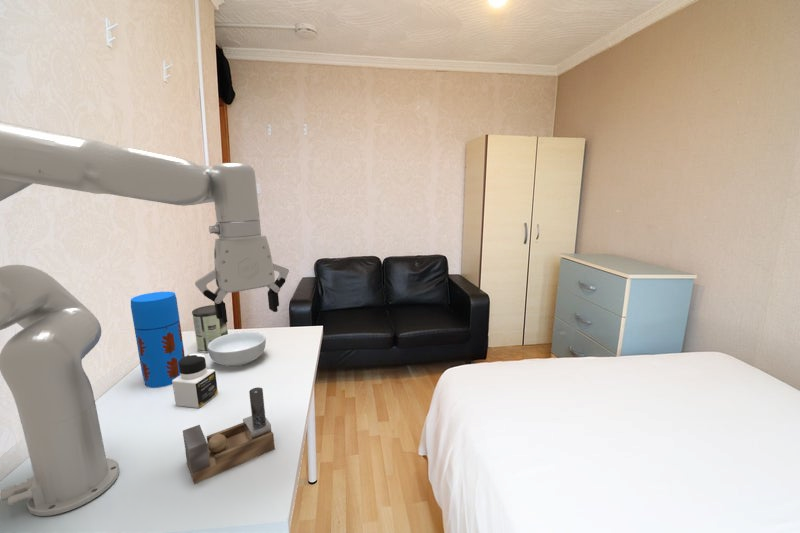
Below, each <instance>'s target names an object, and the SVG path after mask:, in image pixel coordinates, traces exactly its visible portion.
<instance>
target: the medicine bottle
mask: <svg viewBox="0 0 800 533" xmlns="http://www.w3.org/2000/svg"><path fill="white" fill-rule="evenodd" d="M178 364H179V371H180V376H178V377H177V378H175V379H173V380H172V384H171V385H172V389H173V396H174V402H175V406H178V407H187V408H194V409H200V408H202V407H203V406H204V405H205V404H207V403H208V402H209V401H210V400H212V399H213V398H214V397H216V396H217V395H218V394H219V391H218V383H217V375H216V370H215V369H210V368H207V360H206V356H205V355H204V354H203V353H202V354H201V353H191V354H188V355H186V356H185V357H183V358H182V359H180V360H179V362H178Z"/></svg>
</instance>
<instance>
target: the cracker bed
mask: <svg viewBox="0 0 800 533" xmlns="http://www.w3.org/2000/svg"><path fill="white" fill-rule="evenodd" d="M216 434H222V435H224V436H225V437H226V439H227V444H226V447H225V448H224V449H223V450H222V451H221V452H218V453H213V452H211V451H210V450H209V449H208V442H209V440H210V438H211V437H212V436H214V435H216ZM182 435H183V436H182V437H183V441H184V442H183V443H184V450H185V457H186V462H187V466H188V469H189V472H190V475H191V476H190V477H191V478H192V483H193V485H195V484H198V483H200V482H203V481H205V480H208V479H210V478H212V477H215V476H216V475H219V474H221V473H224V472H225V471H227V470H230V469H232V468H235V467H237V466H239V465H241V464H244V463H246V462H249V461H250V460H253V459H255V458H258V457H259V456H263V455H264V454H267V453H268V452H271V451H273V450H275V449H276V448H275V447H276V446H275V437H274V432H273V431H272V432H270V433H267V434H265V435H263V436H260V437H258V438H255V439H253V440H249V438H248V436H247V435H246V433H245V431H244V424H243V422H240V423H239V424H236V425H233V426H230V427H228V428H224V429H222V430H220V431H216V432H215V433H212V434H210V435H209V434H208V435H206V437H205V434H204V432H203V430H202V427H201V425H200V424H197V425H195V426H192V427H189V428H185V429H183V430H182Z"/></svg>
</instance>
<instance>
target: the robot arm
mask: <svg viewBox="0 0 800 533" xmlns="http://www.w3.org/2000/svg"><path fill="white" fill-rule="evenodd" d="M256 178H257V177H256V172H255V170H254V167H252V166H251V165H250V164H248V163H242V162H222V163H221V162H220V163H216V164H213V166H212V165H211V166H210V165H202V164H201V165H200V164H197V163H195V162H193V161H190V160H187V159H184V158H179V157H175V156H169V155H166V154H159V153H155V152H149V151H145V150H140V149H133V148H129V147H125V146H124V147H123V146H118V145H113V144H109V143H106V142H102V141H99V140H94V139H89V138H84V137H80V136H74V135H68V134H64V133H60V132H53V131H48V130H44V129H40V128H39V129H38V128H34V127H29V126H24V125H20V124H19V125H18V124H15V123H14V124H13V123H9V122H5V121H0V202H2V201H4V200H6V199H7V198H9V197H11V196H14V195H15V194H17V193H19V192H21V191H23V190H25V189H26V188H29V187H30V186H31V185H35V184H36V185H41V186H47V187H53V188H61V189H65V190H72V191H78V192H84V193H90V194H95V195H96V194H97V195H110V196H111V195H114V196H118V197H124V198H131V199H136V200H137V199H138V200H144V201H150V202H155V203H161V204H168V205H175V206H182V207H185V206H196V205H201V204H207V203H214V210H215V218H216V222H215V224H214V225H210V226H209V227H208V231H209V234H214V235H217V236H218V238H216V239H215V240H214V248H213V250H214V252H213V253H214V254H213V255H214V259H213V260H214V263H213V264H214V269H213V270H212V271H210V272H208V273H206V274H205V275H204V276H202V277H200V278H199V279H197V280H196V281H195V283H194V284H195V286H196V288H197V289H198V290H199V291H200V293H201V294H202V295H203V296H204V297H206V298H207V299H209V300H210V301H212V302H214V304H213V305H215V311H216V317H217V319H220V320H221V321H222V322H223V323H226V322H227V323H228V316H227V314H228V313H227V307H226V303H225V302H224V299H225V297H226V296H227V294H229V293H231V294H232V293H238V292H243V291H249V290H254V289H256V290H257V289H260V288H265V287H267V288H268V291H267V299H268V308H269V310H270V311H272V312H274V313H277V312H278V311H279V310H278V307H279V306H280V298H279V292H281V289H282V287H283V286H284V284H285V283H286V280H287V277H288V275H289V273H290V272H289V271H290V270H289V268H287V267H284V266H281V265H278V264H275V263H273V257H272V254H271V249H270V245H269V242H268V238H267V235H263V234H262V231H261V230H262V229H261V219H260V209H259V200H258V191H257V180H256ZM275 272H278V274H279V275H278V276H277V278H276V277H275V276H276V275H275ZM214 280H215V284H216V286H217V289H216V290H215V291H214V292H213V291H211V290H209V288H208V284H209V283H211V282H212V281H214ZM15 324H17V325H19V326H20V327H22V328H23V329H21V330H20V331H18V332H17V333H15V334H13V336H12V337H11V338H9V339H8V340H7V342H5V344H4V345H3V347H2V349H1V350H0V373H1V376H2V377H3V380H4V382H5V384H7V387H8V388H9V390H10V392H11V395H12V397H13V399H14V402H15V403H14V404H15V405H16V409H17V412H18V417H19V420H20V425H21V428H22V432H23V436H24V440H25V443H26V448H27V453H28V456H29V461H30V464H31V468H32V473H33V476H32V477H29V478H26V481H24V482H21V483H18V484H14V485H12V486H8V487H6V488H5V487H4V488H2V489H1V490H0V501H1V502H5V501H7V505H8V506H13V505H15V504H17V503H20V502H22V501H25V500H27V501H26V505H27V508H28V511H29V513H31V514H32V515H35V516H42V517H46V516H54V515H59V514H64V513H65V512H69V511H72V510H74V509H77V508H80V507H81V506H84V505H86V504H87V503H89V502H91V501H92V500H94V499H96V498H97V497H99V496H100V495H102V494H103V493H104V492H105V491H107V490H108V489H109V488H110V487H111V486H112V485H113V484H114V483H115V481H116V480H117V478H118V477H119V474H120V467H119V466H120V465H119V463H118V461H116V459H115V460H114V459H113V458H107V455H106V451H105V446H104V440H103V434H102V430H101V425H100V421H99V415H98V410H97V409H98V408H97V405H96V400H95V396H94V391H93V386H92V384H91V381H90V379H89V377H88V376H87V373H86V372H85V369H84V368H83V364H82V361H83V359H84V358H85V357H86V355H88V354H89V353H90V352H91V351H92V350H93V349H94V348H95V347H96V345H98V343H99V341H100V339H101V337H102V326H101V322H100V321H99V320H98V318H97V317H96V315H95V314H94V313H93V312H92V311H91V310H90V309H89V308H87V307H86V306H85V305H84V304H83V303H82V302H81V300H79V299H77V298H76V296H74V295H73V294H72V293H71V292H70V291H69V290H68V289H66V288H65V287H64V286H63V285H62V284H61V283H60V282H59V281H57V280H56V279H55V278H54V277H53V276H51V275H50V274H48V273H46V272H44V271H43V270H41V269H40V268H39V269H38V268H37V267H35V266H34V267H33V266H30V265H24V264H23V265H22V264H9V265H3V266H0V331H2V330H5V329H7V328H11V327H12V326H13V325H15Z"/></svg>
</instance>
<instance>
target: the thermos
mask: <svg viewBox="0 0 800 533" xmlns="http://www.w3.org/2000/svg"><path fill="white" fill-rule="evenodd" d="M130 309H131V316H132V321H133V322H132V323H133V328H134V333H135V338H136V339H135V340H136V345H137V352H138V357H139V364H140V369H141V375H142V378H143V384H144V385H145V386H146V387H148V388H151V389H152V388H154V389H155V388H163V387H168V386H170V385H173V384H172V380H173V379H175V378H177V377H178V376H180V371H179V364H178V362H179V360H180V359H182V358H183V357H185V350H184V341H183V335H182V327H181V322H180V312H179V307H178V299H177V295H176V293H175V292H174V291H156V292H149V293H148V292H147V293H144V294H139V295H136V296H133V297H132V298H130Z"/></svg>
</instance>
